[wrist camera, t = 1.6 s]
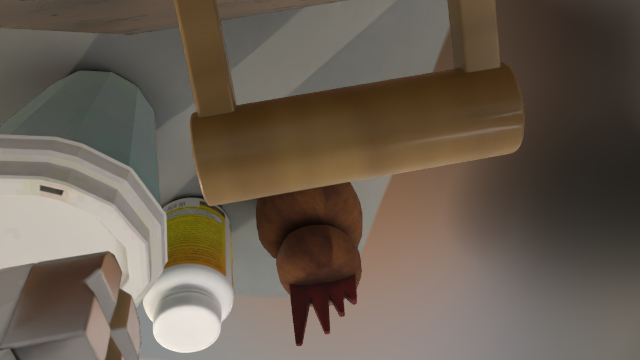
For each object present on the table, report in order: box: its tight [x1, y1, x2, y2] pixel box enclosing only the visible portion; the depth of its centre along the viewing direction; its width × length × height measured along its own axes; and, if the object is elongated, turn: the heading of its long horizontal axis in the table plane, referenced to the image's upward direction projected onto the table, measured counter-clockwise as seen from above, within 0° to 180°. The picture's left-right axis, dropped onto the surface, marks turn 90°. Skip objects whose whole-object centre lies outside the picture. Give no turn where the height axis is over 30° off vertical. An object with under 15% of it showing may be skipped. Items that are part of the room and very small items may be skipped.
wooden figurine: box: [256, 182, 362, 346], centre depth 37 cm, size 7×6×15 cm
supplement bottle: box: [143, 198, 234, 353], centre depth 39 cm, size 6×6×10 cm
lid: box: [0, 0, 525, 206], centre depth 17 cm, size 18×14×5 cm
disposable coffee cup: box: [0, 71, 168, 308], centre depth 32 cm, size 11×11×15 cm
